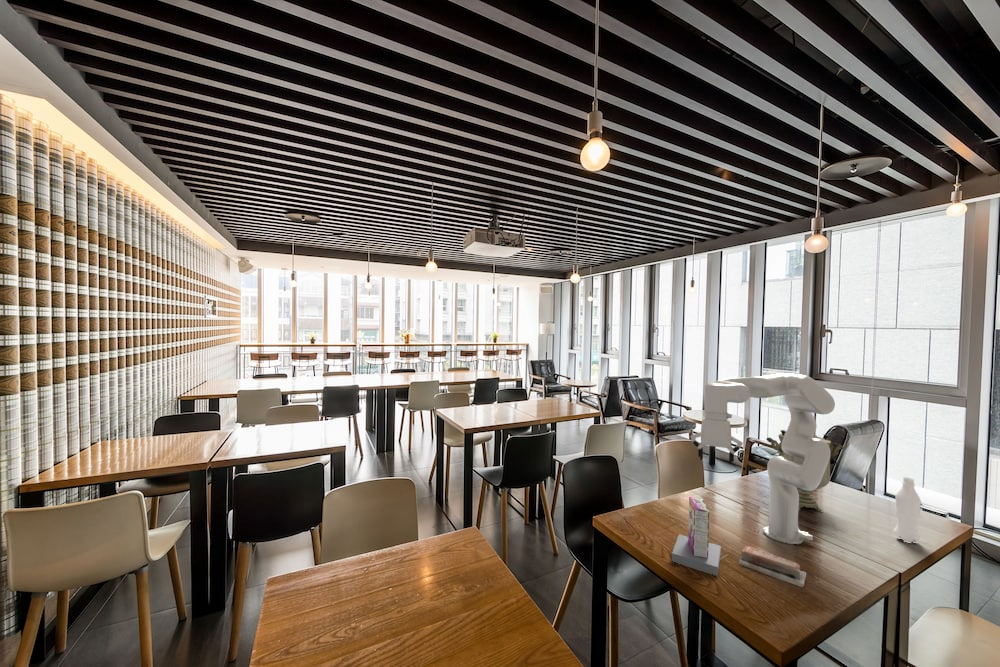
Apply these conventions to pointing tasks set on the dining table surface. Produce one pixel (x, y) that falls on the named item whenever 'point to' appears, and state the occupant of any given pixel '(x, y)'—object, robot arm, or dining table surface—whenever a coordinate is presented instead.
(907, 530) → the water bottle
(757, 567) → the packaged product
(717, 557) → the base plinth
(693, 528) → the candy bar box
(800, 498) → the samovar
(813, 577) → the dining table surface
